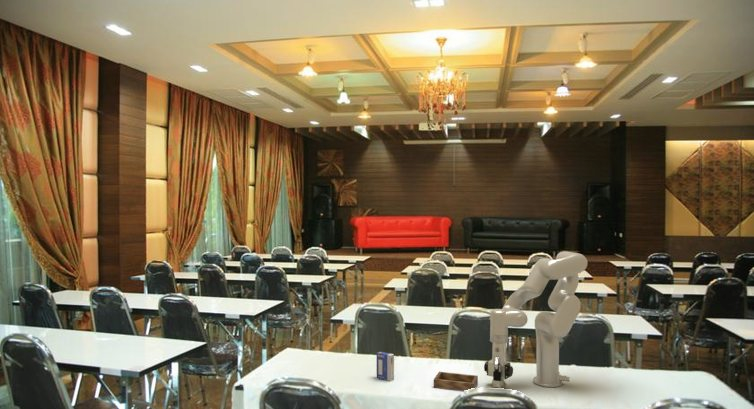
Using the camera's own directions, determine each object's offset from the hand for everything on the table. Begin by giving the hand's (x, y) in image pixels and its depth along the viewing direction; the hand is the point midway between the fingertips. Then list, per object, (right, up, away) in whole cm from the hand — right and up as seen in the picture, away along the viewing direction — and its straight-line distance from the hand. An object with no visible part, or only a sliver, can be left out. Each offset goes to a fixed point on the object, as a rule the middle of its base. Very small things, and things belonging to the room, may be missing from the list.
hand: (498, 377), depth 233 cm
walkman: (-49, -4, +10) cm, 50 cm away
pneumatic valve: (0, -4, 0) cm, 4 cm away
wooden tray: (-18, -4, +1) cm, 19 cm away
